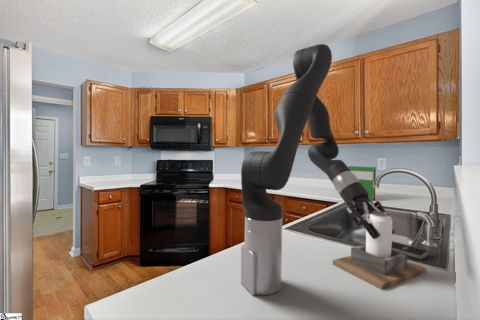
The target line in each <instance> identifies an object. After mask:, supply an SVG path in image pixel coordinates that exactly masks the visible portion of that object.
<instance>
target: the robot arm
mask: <svg viewBox="0 0 480 320" xmlns="http://www.w3.org/2000/svg"><path fill="white" fill-rule="evenodd" d="M332 59H333V55H332V51H331V48H330V46H328V44H325V43H322V44H321V43H320V44H319V43H318V44H314V45H312V46H307V47H305V48H301V49H297V50H296V51H295V52H294V54H293V59H292V67H293V71H294V76H295V79H296V81H295V82H293V83H292V84H291V85H290V86H289V87H288V88H287V89H286V90H285V91H284V92H283V94H282V96H281V98H280V99H279V100H278V101H279V102H278V103H277V106H276V108H275V110H274V111H275V112H274V119H275V123H276V126H277V129H278V132H279V133H278V134H279V138H278V142H276V146H275V148H274V149H273V150H272V151H270V150H269V151H268V150H267V151H249V152H248V153H247V154H245V156H244V158H243V160H242V162H241V163H242V164H241V169H240V170H241V171H240V173H241V174H240V178H241V179H240V181H241V201H242V202H241V203H242V207H243V210H244V245H241V248H240V284H241V285H242V286H243V287H244V288H245V289H246V290H247V291H248V292H249V294H251V295H253V296H255V295H262V296H264V295H265V296H267V295H273V294H276V293H277V292H279V291H280V290H281V288H282V265H283V264H282V261H283V260H282V256H283V254H282V252H283V251H282V250H283V249H282V248H283V243H282V242H283V206H282V205H281V204H280V203H279V202H277V201H275V200H274V199H273V198H272V197H270V196H269V194H268V192H267V190H268V191H280V190H282V189H283V188H285V186H286V185H287V183H288V181H289V180H290V176H291V172H292V171H293V167H294V163H295V159H296V155H297V151H298V147H299V144H300V140H301V138H302V135H303V133H304V130H305V127H306V126H307V123H308V127H309V133H310V137H312V139H316V140H319V139H323V142H320V143H316V144H313V145H311V146H309V148H308V150H307V155H308V158H309V161H310V162H312V164H314V165H315V166H316V167H317V168H318V169H319V170H321V171H322V172H323V173H324V174H325V175H326V176H327V177H328V179H329V180H330V181H331V183H332V185H333V186H334V187H333V188H335V190H336V192H337V193H338V194H339V196H340V197H341V199H342V201H343V202H344V204H345V205H346V206H347V207H346V208H345V209H344V211H345V212H346V213H347V215H348V216H349V217H350V219H351V220H352V221H353V222H354V224H355V225H356V226H357V227H362V228H365V231H366V230H367V231H368V233H369V234H370V236H371V237H372V238H373V239H376V238H378V237H379V236H380V234H379V232H378V231H377V230H376V228H375V227H374V226H373V225H372V224H370V223H371V221H370V219H369V216H370V214H369V212H370V213H374V212H372V211H377V212H378V211H380V212H385V213H388V211H386V210H385V207H383V205H382V203H381V202H380V201H379V200H378V201H375V202H373V201H371V200H369V198H368V196H369V193H368V191H367V190H366V189H365V187H364V186H363V185H362V184H361V182H360V181H359V180H358V179H357V177H356V176H355V175H354V174H353V173H352V172H351V171H350V170H349V168H348V166H347V164H346V163H345V162H344V160H341V159H337V157H338V155H339V151H340V149H339V146H338V143H337V141H336V139H335V137H334V135H333V134H334V133H333V132H332V128H331V121H330V114H329V111H328V109H327V106H325V105H326V104H324V103H323V101H322V100H321V99H320V98H319V96H318V93H319V91H320V89H321V87H322V84H323V83H324V81H325V80H326V77H327V76H328V74H329V72H330V69H331V65H332V61H333V60H332ZM378 213H379V212H378ZM393 234H395V230H394V228H392V235H393ZM275 292H276V293H275Z"/></svg>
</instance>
